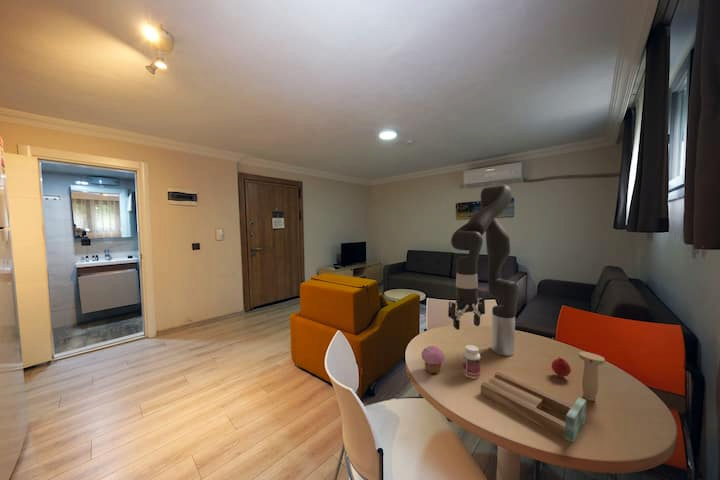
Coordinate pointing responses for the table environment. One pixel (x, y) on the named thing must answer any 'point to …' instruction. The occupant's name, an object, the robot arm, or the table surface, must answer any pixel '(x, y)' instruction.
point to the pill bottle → (471, 362)
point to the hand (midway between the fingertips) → (466, 327)
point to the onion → (561, 367)
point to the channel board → (536, 405)
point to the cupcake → (432, 358)
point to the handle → (590, 374)
